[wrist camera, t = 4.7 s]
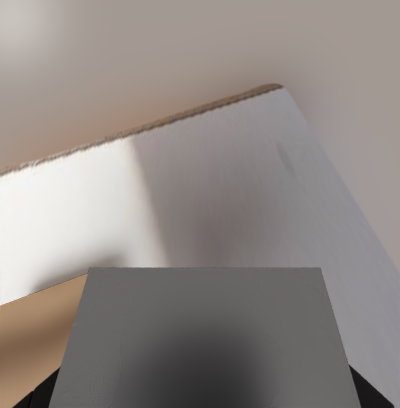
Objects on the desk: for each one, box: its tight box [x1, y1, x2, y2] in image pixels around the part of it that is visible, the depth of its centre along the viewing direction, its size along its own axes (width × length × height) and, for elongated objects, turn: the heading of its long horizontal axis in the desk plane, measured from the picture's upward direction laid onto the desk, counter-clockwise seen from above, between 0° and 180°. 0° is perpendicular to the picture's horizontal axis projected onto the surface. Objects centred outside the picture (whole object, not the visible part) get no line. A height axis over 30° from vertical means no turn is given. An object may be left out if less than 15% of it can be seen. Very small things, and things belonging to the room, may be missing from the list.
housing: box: [48, 268, 361, 408], centre depth 8 cm, size 5×5×10 cm
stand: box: [0, 273, 88, 408], centre depth 16 cm, size 9×9×2 cm
